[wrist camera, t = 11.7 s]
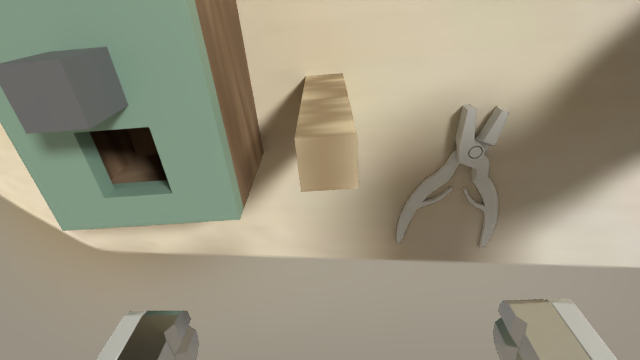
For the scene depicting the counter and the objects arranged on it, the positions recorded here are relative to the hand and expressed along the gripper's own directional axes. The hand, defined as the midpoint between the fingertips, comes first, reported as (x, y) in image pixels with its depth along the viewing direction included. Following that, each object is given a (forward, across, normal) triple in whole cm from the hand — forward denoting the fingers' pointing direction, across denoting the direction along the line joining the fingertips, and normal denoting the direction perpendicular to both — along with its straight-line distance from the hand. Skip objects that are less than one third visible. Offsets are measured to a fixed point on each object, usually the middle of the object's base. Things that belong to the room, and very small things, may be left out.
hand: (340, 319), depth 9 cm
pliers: (+23, -11, +10) cm, 27 cm away
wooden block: (+22, +1, 0) cm, 22 cm away
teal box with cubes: (+13, +13, -4) cm, 18 cm away
